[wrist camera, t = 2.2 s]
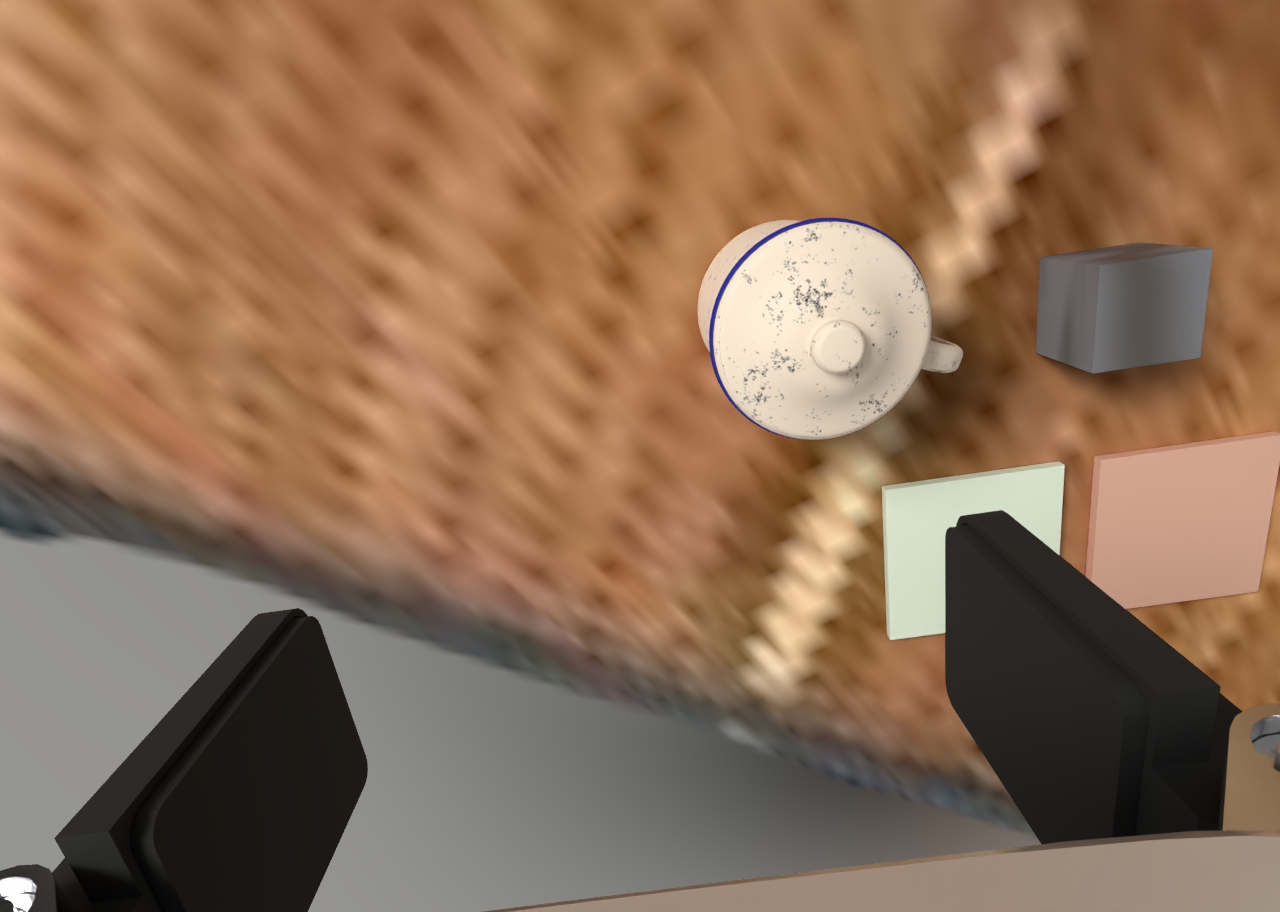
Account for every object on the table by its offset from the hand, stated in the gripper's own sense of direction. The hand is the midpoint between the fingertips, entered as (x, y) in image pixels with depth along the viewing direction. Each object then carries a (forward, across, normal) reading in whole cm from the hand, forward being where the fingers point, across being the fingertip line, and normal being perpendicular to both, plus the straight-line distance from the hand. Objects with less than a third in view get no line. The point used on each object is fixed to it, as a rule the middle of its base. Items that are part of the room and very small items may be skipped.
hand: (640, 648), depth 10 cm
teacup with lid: (+29, -9, 0) cm, 30 cm away
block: (+29, -24, +2) cm, 37 cm away
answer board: (+28, -24, +16) cm, 40 cm away
